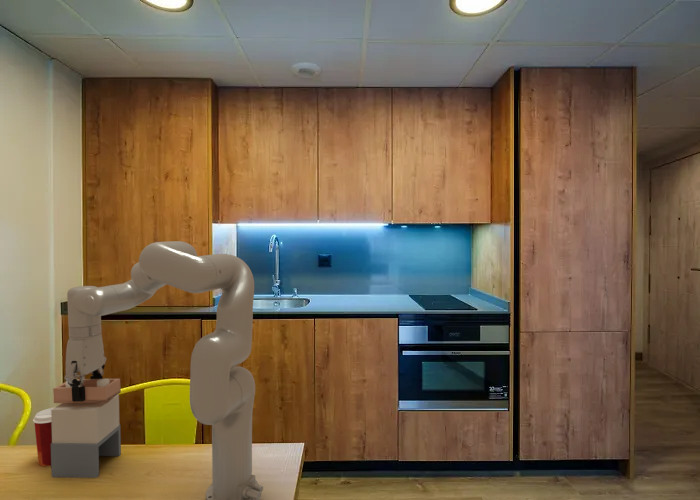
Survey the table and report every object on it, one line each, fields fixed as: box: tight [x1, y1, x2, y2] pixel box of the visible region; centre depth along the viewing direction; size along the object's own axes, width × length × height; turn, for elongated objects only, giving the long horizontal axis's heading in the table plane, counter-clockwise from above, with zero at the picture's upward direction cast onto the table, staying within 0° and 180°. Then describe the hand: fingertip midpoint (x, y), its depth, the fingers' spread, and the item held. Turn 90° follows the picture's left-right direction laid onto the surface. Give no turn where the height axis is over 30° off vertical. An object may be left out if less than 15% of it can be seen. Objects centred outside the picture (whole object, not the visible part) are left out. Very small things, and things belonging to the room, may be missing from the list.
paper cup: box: [32, 407, 54, 467], centre depth 116 cm, size 8×8×14 cm
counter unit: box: [50, 394, 122, 479], centre depth 114 cm, size 12×11×18 cm
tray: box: [52, 378, 122, 404], centre depth 114 cm, size 14×7×5 cm, turn 90°
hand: (88, 394), depth 114 cm, fingers closed on tray, 7 cm apart
